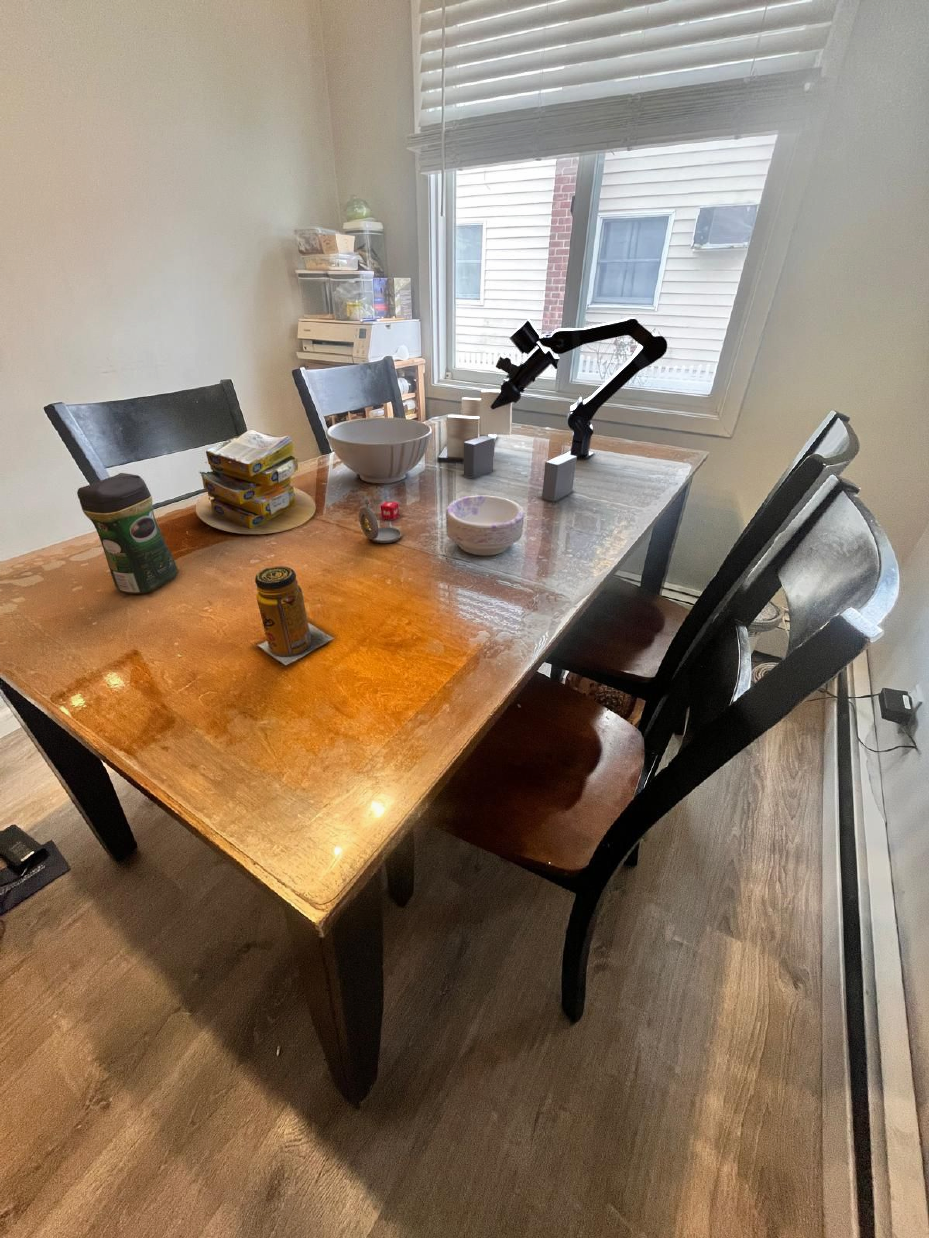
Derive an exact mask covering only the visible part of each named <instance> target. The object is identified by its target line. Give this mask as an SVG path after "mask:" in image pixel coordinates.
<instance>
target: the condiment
mask: <svg viewBox="0 0 929 1238" xmlns="http://www.w3.org/2000/svg"><path fill="white" fill-rule="evenodd" d="M254 583H255V586H256V591H257V592H256V603H257V606H258V609H259V613H260V617H261V621H262V626H263V631H264V635H265V638H266V640H265V641H264V642H262V643H261V642H260V643H259V644H257V646H258V647H259V648H261V649H262V650H263V651H264V652H265V653H267V654H268V655H270V656H271V657H272V658H274V659H275V660H276V661H278V662H280V663H282V665H284V666H288V665H290V664H291V663H294V662H296V661H298V660H299V659H300V658H301V659H302V658H303V657H305V656H306V655H309V653H311V652H313V651H315V650H316V649H318V648H320V647H322V646H323V645H325V644H327V643H328V642H330V641H332V640H334V639H335V637H333V636H332V635H330V634H327V633H326V632H324V631H323V630H321V629H320V628H317V627H316V626H315V625H312V623H310V622H309V620H308V615H307V609H306V603H305V600H304V599H305V598H304V594H303V590H302V588H301V586H300V585H299V582H298V579H297V574H296V572H295V570H294V569H292V568H290V567H288V566H284V565H283V566H282V565H279V566H278V565H276V566H270V567H266V568H265V569H262V570H261V571H259V572H258V573H257V574H256V575H255V579H254Z"/></svg>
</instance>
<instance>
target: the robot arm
mask: <svg viewBox="0 0 929 1238" xmlns="http://www.w3.org/2000/svg"><path fill="white" fill-rule="evenodd" d="M624 336H629V337H630V338H631V339H633V340H634V341H635V342H636V343H637V344H639V345H638V346H637V348H636V350H635V351H634V352H633V354H632V356H631V357H630V358H629V359H628V360H627V361H626V362H625V363H624V364H623V365H622V366H621V367H620V368H619V369H618V370H617V371H616V372H614V374H613V375H611V376H610V377H609V378H608V379H607V380H606V381H605V382H604V383H603V384H602V385H601V386H600V387H599V388H598V389H597V390H595V391H594V393H593V394H592V395H590V396H588V397H587V398H586V399H584V398H582V396H579V398H578V399H577V401H576V402H575V403H574V404H572V405H570V407H569V409H570V410H569V411H568V413H567V426H568V428H569V429H570V430H571V431H573V432H572V435H571V442H570V443H571V444H570V450H569V451H568V452H566V453H565V454H569V455H573V456H577V459H583V460H585V459H588V458H590V457H591V456H592V455H594V452H593V451H591V445H592V439H593V434H594V426H593V423H592V422H591V421H592V419H594V416H595V415H596V413H597V412H598V410H599V409H600V408H601V407H602V406H603V405H605V403H606V402H607V401H608V400H610V399H611V398H612V397H613V396H614V395H615V394H616V393H617V392H618V391H619V390H620V389H621V388H623V387H624V386H625V385H626V384H627V383H628V382H629V381H630V380H631V379H632V378H634V376H635V375H637V373H639V372H640V371H641V370H643V369H645V368H647V367H650V365H652V364H654V363H655V362H657V361H658V360H660V359H661V358H662V357H663V356H664V355H666V353H667V350H668V341H667V339H666V338H665V337H664V336H663V335H661V334H660V333H656V332H655V333H652V332H650V331H649V330H648V329H647V328H646V327H644V325H642V324H641V323H640V322H639V321H638V320H637V318H635V317H631V316H629V317H626V318H624V319H620V320H615V321H611V322H606V323H600V324H596V325H592V326H588V327H584V328H583V327H582V328H580V327H579V328H576V327H575V328H573V327H567V328H566V327H565V328H562V327H561V328H556V329H555V330H554V331H552V333H547V334H546V333H544V334H540V333H539V332H538V331H537V329H536V328H535V327H534V325H533V323H532V321H531V320H530V319H527V320H526V321H525V322H524V323H523V324H522V325H521V326H520V327H518V328H516V330H515V331H514V332H513V333H512V335H510V337H509V340H510V342H512V343H513V345H514V346H515V348H516V349H517V350H518V351H519V353H520V354H521V355H524V354H526V355H529V354H530V353H531V352H532V351H533V352H532V353H531V354H530V355H529V356H528V357H527V358H526V359H525V360H523V361H521V362H519V363H518V362H516V361H515V360H513V359H512V358H511V357H509V356H508V355H505V354H502V353H501V355H500V357H499V358H498V360H497V362H496V364H495V368H496V369H498V370H501V371H503V372H505V373H506V376H505V378H506V379H505V378H503V381H502V383H501V384H500V390H501V392H500V394H499V395H498V397H497V398H496V399H495V401H494V402H493V404H492V405H491V408H492V409H496V408H498V407H501V406H504V405H506V404H509V403H512V404H513V403H514V404H517V403H518V402H519V401H520V400H521V398H522V394H523V393H524V392H525V391H526V389H527V388H528V387H529V386H530V385H531V384H533V383H535V382H536V380H537V379H538V378H539V377H540V375H542V374H543V373H544V372H545V371H546V370H547V369H548V368H549V367H550V366H552V368H554V369H555V370H558V368H559V367H558V365H559V361H560V357H559V356H557V357H556V356H555V355H563V354H565V353H568V352H570V351H572V350H575V349H578V348H579V347H581V346H584V345H588V344H592V343H596V342H597V343H598V342H600V341H606V340H611V339H615V338H621V337H624ZM536 347H537V348H536ZM544 347H545V348H549V349H546V350H545V348H544ZM535 348H536V349H535ZM534 349H535V350H534ZM553 353H554V354H555V355H554V354H553Z"/></svg>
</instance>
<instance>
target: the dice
mask: <svg viewBox="0 0 929 1238" xmlns="http://www.w3.org/2000/svg"><path fill="white" fill-rule="evenodd" d="M379 507H380V518H381V519H383V520H390V521H395V520H396V519H397V518H398V517H399V516H400V508H399V507H400V506H399V502H396V501H391V500H390V501H389V500H386V501H383V503H382V504H380V505H379Z"/></svg>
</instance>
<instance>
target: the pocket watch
mask: <svg viewBox="0 0 929 1238" xmlns="http://www.w3.org/2000/svg"><path fill="white" fill-rule="evenodd" d="M361 497H362V500H363V501H364V504H365V505H364V506H362V507H360V509H359V511H358V521H359V526H360V528H361V530H362V533H363V534H364V536H365V538H367V539H369V540H371V541H372V542H374V543H378V544H389V543H394V542H397V541H398V540H400V539H401V538H402V531H401V529H399V528H396V527H392V526H382V527H379V523H378V519H377V517H376V514H375V512H374V511H373V509H372V508H371V507H370V503H371V501H370V499H369V498H368V497H367V496H366V495H364V494H362V495H361Z"/></svg>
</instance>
